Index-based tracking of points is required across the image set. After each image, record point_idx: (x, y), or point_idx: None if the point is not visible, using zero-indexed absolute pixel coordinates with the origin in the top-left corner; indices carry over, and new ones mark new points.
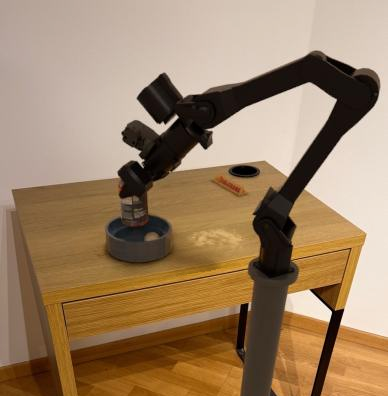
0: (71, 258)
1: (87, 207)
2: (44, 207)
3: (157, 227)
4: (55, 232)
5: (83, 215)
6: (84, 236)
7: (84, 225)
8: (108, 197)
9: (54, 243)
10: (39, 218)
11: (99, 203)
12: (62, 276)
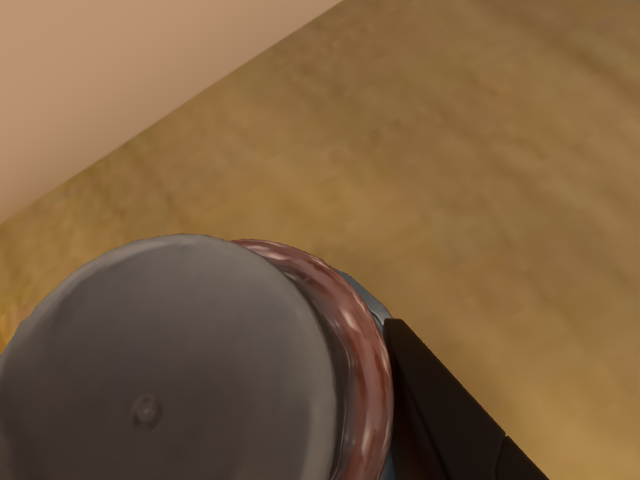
0: (154, 214)
1: (495, 93)
2: (426, 3)
3: (390, 459)
4: (293, 100)
5: (434, 110)
6: (298, 181)
7: (369, 145)
8: (613, 111)
9: (228, 130)
10: (356, 27)
11: (547, 109)
12: (50, 242)
